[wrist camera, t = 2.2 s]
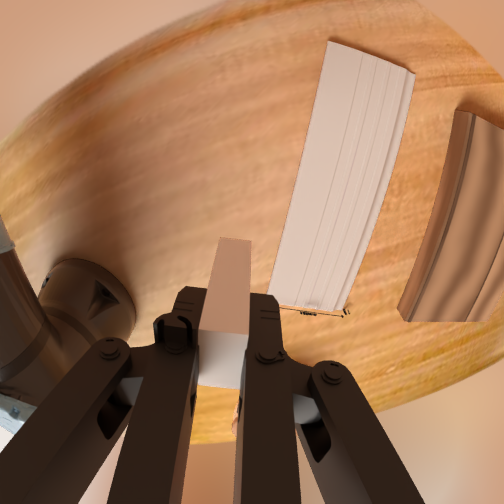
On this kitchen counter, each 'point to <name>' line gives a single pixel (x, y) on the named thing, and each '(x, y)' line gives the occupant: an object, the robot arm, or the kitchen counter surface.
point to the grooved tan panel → (462, 231)
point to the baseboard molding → (341, 178)
